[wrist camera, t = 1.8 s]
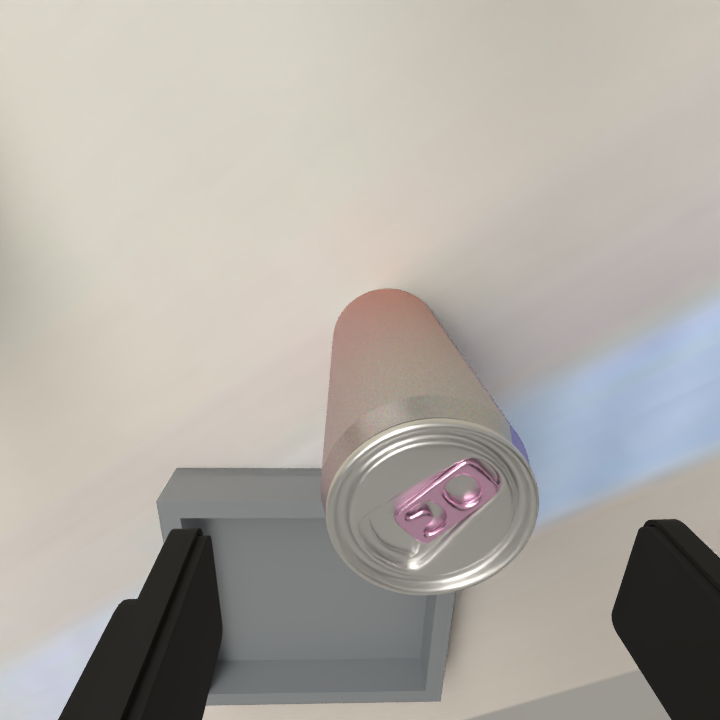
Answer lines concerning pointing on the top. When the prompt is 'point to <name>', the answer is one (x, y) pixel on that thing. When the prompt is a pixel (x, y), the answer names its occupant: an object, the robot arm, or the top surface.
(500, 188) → the top surface
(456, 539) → the beverage can
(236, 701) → the tray
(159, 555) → the robot arm
